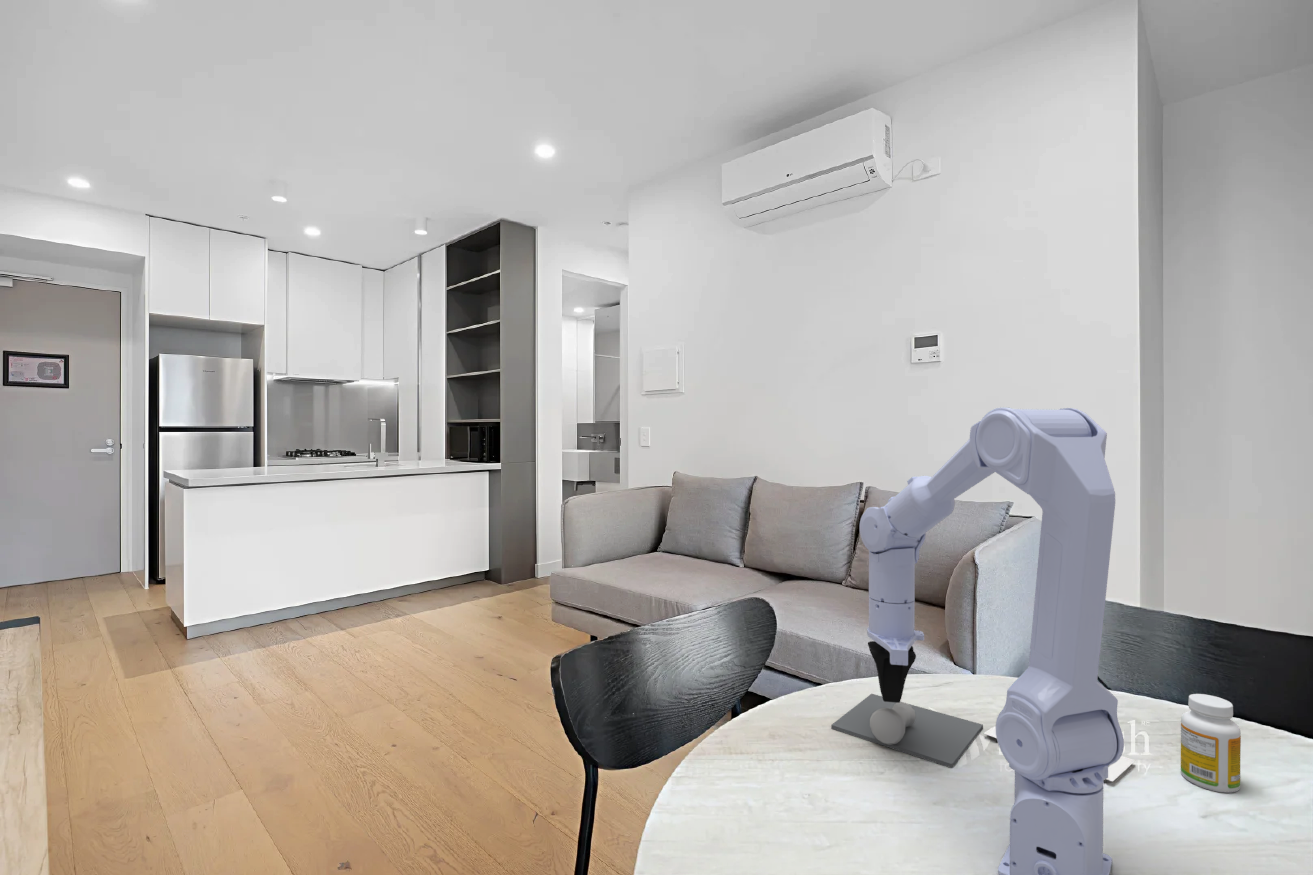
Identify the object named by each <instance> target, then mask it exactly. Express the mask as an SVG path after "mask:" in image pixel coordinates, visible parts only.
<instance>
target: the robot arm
mask: <svg viewBox="0 0 1313 875" xmlns="http://www.w3.org/2000/svg"><path fill="white" fill-rule="evenodd" d="M1107 437H1108V433H1107V431H1106V430H1105V429H1104V428H1102V427H1101V426H1100V425H1099V424H1098V423H1097V422H1096V421H1095V420H1094V419H1093V418H1091V416H1090V415H1089V414H1087V413H1086V412H1084V411H1083V410H1080V409H1078V408H1073V407H1066V408H1065V407H1064V408H1058V409H1055V408H1054V409H1052V408H1051V409H1050V408H1049V409H1048V408H1046V409H1045V408H1042V409H1039V408H1035V409H1034V408H1012V407H1007V406H1006V407H1004V406H1003V407H1001V406H1000V407H995V408H993V409H992V410H990V411H988V412H987V413H986V414H985V415H984V416H983V417H982V419H980V421H978V422H976V423H974V424H973V425H971V427H970V432H969V438H968V440H966V442H965V443H964V444H963V445H962V446H961V447H960V448H959V449H958V450H956V452H955V453H954V454H953V455H952V456H951V457H950V458H949V459H948V460H947V461H946V462H945V463H944V464H943V465H942V466H941V467H940V468H939V469H938V470H937V471H936V472H935V473H934V474H933V475H932V476H930V475H920V476H919V475H918V476H911V477H910V478H909V479H908V480H906V482H907V486H905V487H904V488H903V489H902V490H901V491H900V492H898V493H897V494H896V495H895V496H891V497H890V498H889V499H888V500H887V503H886V504H885V505H884V506H880V507H878V506H870V507H867V508H866V509H865V511H864V512H863V514H862V515H861V517H860V519H859V520H860V521H859V536H860V538H861V539H860V540H861V541H862V543H863V545H864V546H865V548H866V549H867V550H868V627H867V629H866V635H867V637H868V638H869V639H871V641H868V642H867V646H868V650H869V652H870V655H871V657H872V659H873V661H874V663H875V668H876V670H877V671H876V672H877V677H878V683H879V690H880V694H881V696H882V698H883V701H884V702H895V703H900V702H901V700H902V697H903V692H904V688H905V685H906V684H905V683H906V679H907V676H908V674H909V671H910V669H911V668H912V665H913V664H914V662H915V661H916V658H917V654H916V652H915V651H914V647H913V645H914V644H915V642H916V641H925V634H924V632H923V631H922V630H915V626H916V625H915V617H916V616H915V609H916V608H915V607H916V606H915V603H916V602H915V601H916V600H915V598H916V597H915V596H916V594H915V593H916V592H915V591H916V590H915V588H916V585H915V583H916V582H915V581H916V576H915V575H916V564H918V561H919V560H920V549H921V548H922V546H923V545H924V542H925V541H926V534H927V533H928V532H929V531H930V530H931V529H933V528H934V527H936V526H938V524H939V523H941V522H942V521H944V520H945V519H947V518H948V517H949V516H950V515H952V513H953V512H954V509H955V507H956V506H955V505H956V504H955V503H956V502H955V499H956V498H958V497H959V496H961V495H963V493H965V492H967V491H968V490H970V489H971V488H974V487H975V486H976V485H977V484H979V483H981V482H982V481H984V480H985V479H987V478H988V477H990V476H991V475H993V474H995V473H996V474H998V475H999V476H1001V478H1003V479H1004V480H1006V481H1007V482H1009V483H1011V484H1012V485H1014V486H1015V487H1016V488H1018V489H1019V490H1021V491H1023V492H1024V493H1025V494H1027V495H1029V496H1030V497H1031V498H1032V499H1033V501H1035V502H1036V504H1037V505H1038V506H1039V507H1040V508H1041V509H1042V515H1041V524H1040V525H1041V526H1040V536H1039V548H1038V559H1037V568H1036V569H1037V570H1036V582H1035V593H1034V602H1033V603H1034V604H1033V614H1032V625H1031V626H1032V627H1031V633H1030V634H1031V636H1030V646H1029V647H1030V648H1029V656H1028V657H1029V659H1028V667H1027V668H1026V669H1025V670H1024V672H1022V674H1020V676H1019V677H1018V678H1017V679H1015V681H1014V682H1013V683H1012V684H1011V685H1009V687H1008V688H1007V690H1006V697H1005V698H1006V700H1005V703H1004V706H1003V708H1002V709H1001V710H1000V712H999V713H998V715H997V717H996V722H995V726H996V737H997V738H996V741H997V744H998V747H999V749H1000V752H1001V754H1002V755H1003V757H1004V759H1005V760H1006V762H1007V763H1008V767H1009V768H1010V769H1012V770H1013V771H1014V802H1013V805H1012V807H1011V810H1010V814H1009V843H1008V846H1007V848H1006V850H1005V853H1004V855H1003V857H1002V859H1001V860H1000V863H999V865H998V867H997V874H998V875H1111V870H1112V866H1113V858H1112V856H1110V855H1109V854H1107V853H1104V786H1105V785H1104V782H1105V781H1104V780H1107V779H1106V778H1108V765H1112V764H1114V763H1116V762H1117V761H1118V760H1119V759H1120V757H1121V756H1123V753H1124V746H1125V740H1124V739H1125V738H1124V735H1123V731H1122V729H1121V725H1120V723H1119V718H1118V706H1119V705H1118V704H1119V700H1118V698H1117V697H1116V696H1115V695H1114V694H1113V693H1112V692H1110V690H1109V689H1107V688H1106V687H1105V686H1104V685H1103V684H1102V683H1100V682H1099V681H1098V676H1099V667H1100V655H1101V648H1102V647H1101V646H1102V637H1103V627H1104V617H1105V608H1106V607H1105V606H1106V598H1107V589H1108V578H1109V570H1110V569H1109V568H1110V567H1109V566H1110V558H1111V549H1112V548H1111V547H1112V541H1113V540H1112V538H1113V529H1114V520H1115V519H1114V518H1115V510H1116V491H1115V488H1114V484H1113V481H1112V479H1111V475H1110V472H1109V469H1108V466H1107V463H1106V460H1105V456H1106V449H1107V448H1106V446H1107V439H1108V438H1107Z"/></svg>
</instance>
